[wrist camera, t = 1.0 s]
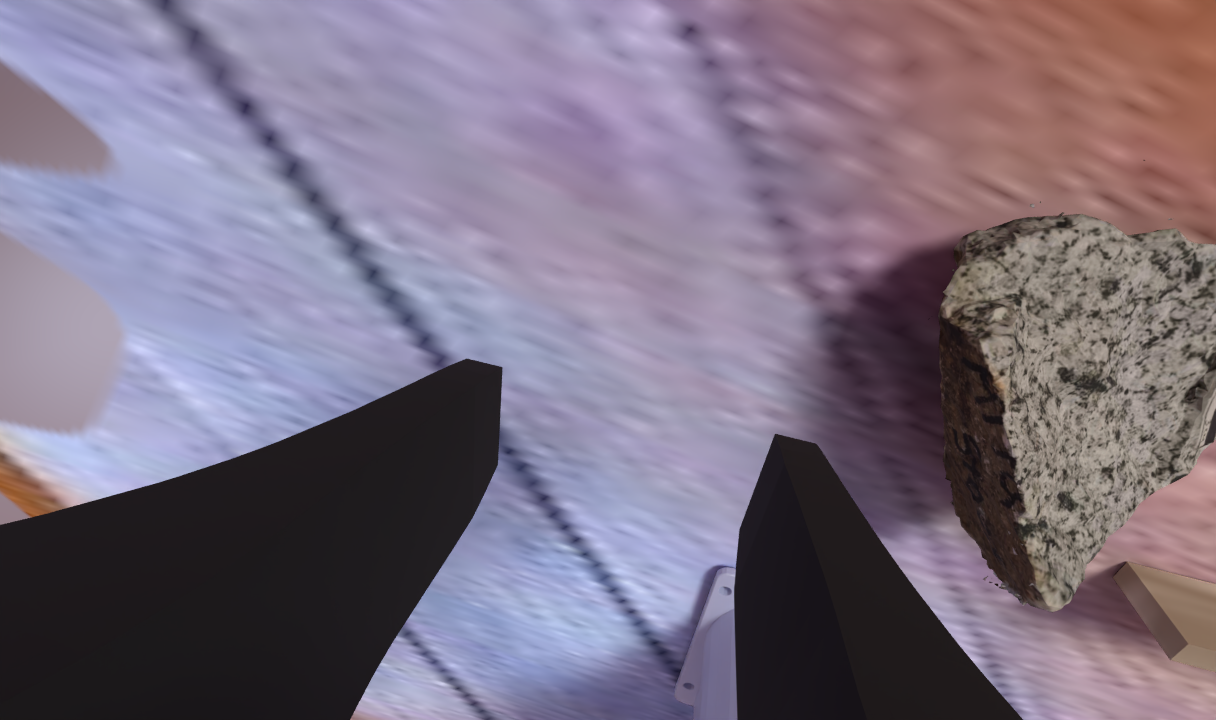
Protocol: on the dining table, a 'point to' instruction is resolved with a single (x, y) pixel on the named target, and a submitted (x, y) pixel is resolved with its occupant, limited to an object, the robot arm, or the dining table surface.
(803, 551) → the robot arm
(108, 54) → the dining table surface
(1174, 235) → the rock sample
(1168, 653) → the tray frame
